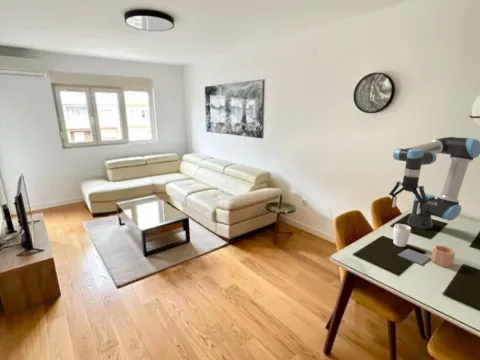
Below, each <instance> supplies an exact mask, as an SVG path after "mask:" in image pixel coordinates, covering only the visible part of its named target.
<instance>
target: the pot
mask: <svg viewBox="0 0 480 360" xmlns="http://www.w3.org/2000/svg"><path fill="white" fill-rule="evenodd" d="M430 257H431V259H430V260H431V262H432V264H434V265H436V266H439V267H442V268H451V267H452V265H453V264H454V259H455V257H456V251H454V249H452V248H450V247H448V246H445V245H436V244H435V245H434V246H433V248H432V252H431V256H430Z"/></svg>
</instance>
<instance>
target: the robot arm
mask: <svg viewBox="0 0 480 360" xmlns="http://www.w3.org/2000/svg"><path fill="white" fill-rule="evenodd" d="M392 154H393V155H392V157H393V159H394V160H396V161H400V162H405V168H404V173H403V174H404V175H403V178H402V182H401V181H400V180H399V181H397V182H396V184H395V185H394V187H393V188H392V189H391V191H390V192H389V196H391V202H392V205H391V207H392V208H395V207H396V205H397V201H398V196H397V195H399V194H401V193H402V192H403V191H405V192H410V193H412V194H414V199H413V205H412V210H411V211H412V212H411V214H410V215H409V217H408V219H407V221H406V222H407V225H408V226H410V227H412V228H417V229H421V230H430V229H432V228H433V225H434V223H433V219H432V216H433V217H436V218H440V219H442V220H446V221H454V220H456V218H457V217H458V216H459V215H460V214H461V211H462V205H460V204H459V203H460V200H458V197H459V193H460V191H461V188H462V185H463V181H464V179H465V175H466V173H467V169H468V166H469V164H470V163H471V162H472V161H474V159H476V158H478V157H479V156H480V140H478V139H476V138H471V137H455V136H448V137H447V136H445V137H440V138H436V139H432V140H431V141H429V142H427V143H424V144H419V145H415V146H411V147H408V148H406V147H405V148H402V147H401V148H399V147H398V148H396V149H395V150H393V153H392ZM438 154H441V155H442V154H443V155H450V156H449V158H450V159H451V161H450V162H451V163H450V166H449V168H448V171H447V174H446V178H445V181H444V184H443V188H442V191H441V194H440V195H438V196H437V198H436V196H435V195H434V194H429V193H426V192H425V186H424V185H419V179H420V174H421V168H422V166H424V165H426V166H427V165H431V164H434V163H435V162H436V160H437V155H438ZM400 186H401V188H400V189H399V187H400ZM418 190H419V191H418Z"/></svg>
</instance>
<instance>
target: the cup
mask: <svg viewBox="0 0 480 360" xmlns="http://www.w3.org/2000/svg"><path fill="white" fill-rule="evenodd" d="M411 231H412V226H411V225H409V224H403V223H395V224H394V226H393V233H392V234H393V238H392V239H393V244H394V245H395V246H397V247H401V248H404V247H407V243H408V240H409V238H410V235H411Z"/></svg>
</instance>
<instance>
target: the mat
mask: <svg viewBox="0 0 480 360" xmlns="http://www.w3.org/2000/svg"><path fill="white" fill-rule="evenodd" d="M397 256H398V257H401V258H402V259H404V260H408V261H410V262H412V263H415V264H417V265H420V266H423V265H424V264H425V263H427V262H428V261H429V260H431V256H429V255H426V254H423V253H421V252H418V251H415V250H413V249H410V248H407V249H405V250H402V251H401V252H400V253H398V254H397Z"/></svg>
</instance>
